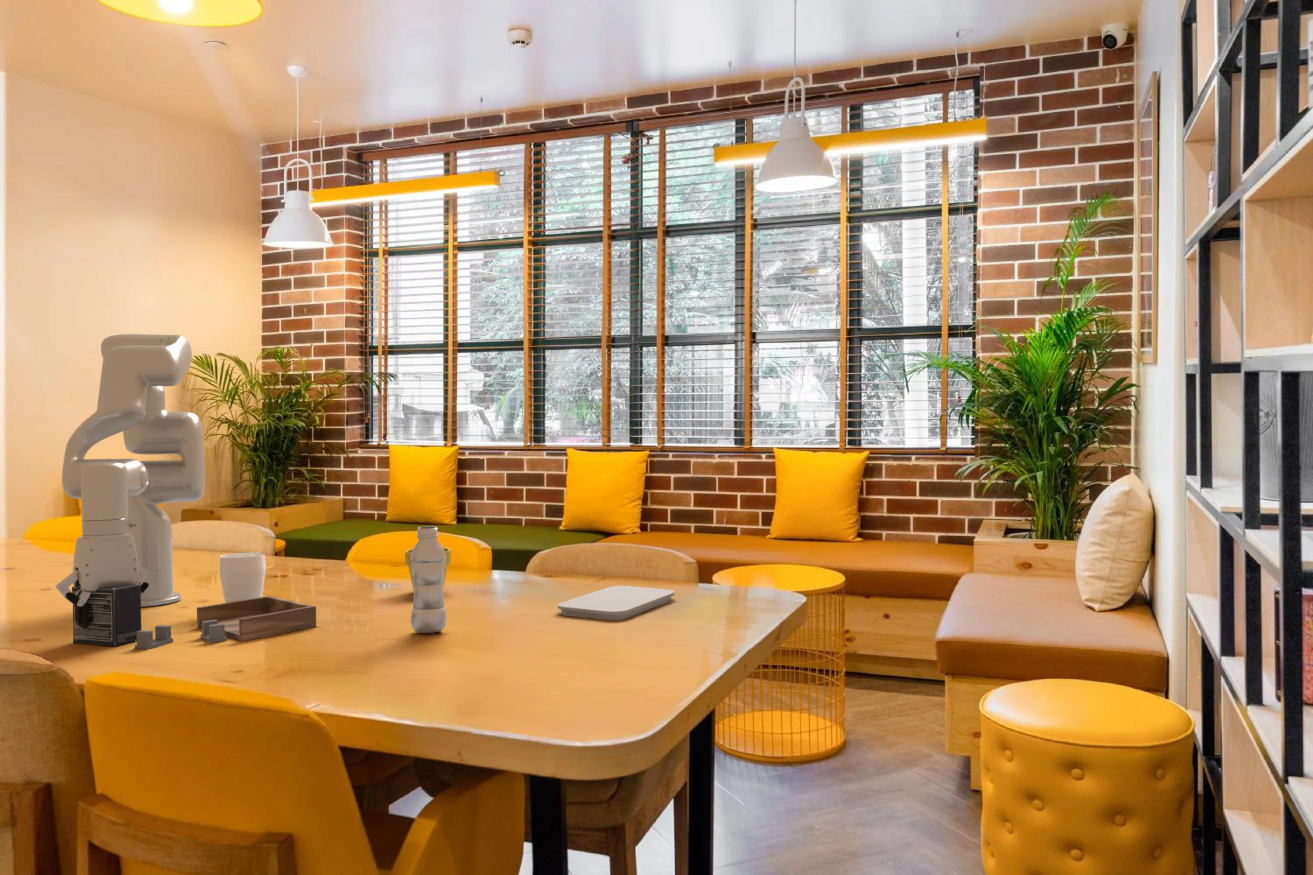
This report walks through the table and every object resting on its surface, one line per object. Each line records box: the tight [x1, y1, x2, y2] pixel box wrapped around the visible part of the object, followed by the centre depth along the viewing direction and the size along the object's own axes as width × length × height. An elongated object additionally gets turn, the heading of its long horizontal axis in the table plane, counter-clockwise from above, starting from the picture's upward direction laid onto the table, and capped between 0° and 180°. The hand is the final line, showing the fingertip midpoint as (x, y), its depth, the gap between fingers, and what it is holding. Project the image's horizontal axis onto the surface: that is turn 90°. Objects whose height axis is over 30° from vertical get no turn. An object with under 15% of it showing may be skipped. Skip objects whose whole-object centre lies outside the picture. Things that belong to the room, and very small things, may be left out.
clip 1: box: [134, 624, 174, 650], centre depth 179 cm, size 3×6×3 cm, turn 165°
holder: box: [196, 595, 317, 642], centre depth 193 cm, size 18×15×4 cm
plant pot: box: [404, 546, 452, 591], centre depth 229 cm, size 10×10×10 cm
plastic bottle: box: [410, 525, 448, 634], centre depth 186 cm, size 6×7×20 cm
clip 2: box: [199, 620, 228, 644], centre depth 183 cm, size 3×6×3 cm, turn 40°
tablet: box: [557, 585, 675, 621], centre depth 209 cm, size 16×26×2 cm, turn 152°
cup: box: [219, 551, 267, 603], centre depth 208 cm, size 9×9×12 cm
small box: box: [71, 584, 142, 647], centre depth 182 cm, size 11×6×10 cm, turn 71°
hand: (108, 622), depth 182 cm, fingers closed on small box, 8 cm apart
